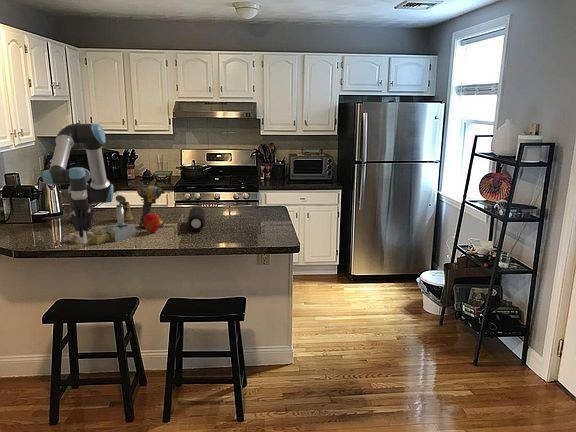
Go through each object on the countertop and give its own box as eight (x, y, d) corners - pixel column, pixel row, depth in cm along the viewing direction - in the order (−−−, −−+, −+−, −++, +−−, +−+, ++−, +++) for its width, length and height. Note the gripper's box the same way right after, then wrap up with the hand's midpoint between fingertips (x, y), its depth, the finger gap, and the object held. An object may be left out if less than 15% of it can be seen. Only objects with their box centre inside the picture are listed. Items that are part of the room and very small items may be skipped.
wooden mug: (113, 223, 296) (111, 195, 291) (120, 218, 309) (118, 190, 305) (128, 223, 296) (126, 195, 292) (134, 218, 309) (132, 190, 305)
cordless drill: (167, 229, 282) (165, 188, 276) (136, 228, 286) (133, 186, 280) (174, 226, 291) (172, 185, 284) (144, 224, 294) (141, 184, 288)
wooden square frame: (69, 241, 260) (68, 234, 259) (84, 237, 267) (83, 230, 266) (80, 243, 255) (79, 236, 254) (94, 239, 262) (93, 232, 261)
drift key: (92, 243, 255) (91, 235, 254) (108, 238, 264) (107, 230, 263) (97, 244, 253) (96, 236, 252) (113, 239, 262) (113, 232, 260)
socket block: (102, 238, 264) (101, 228, 263) (122, 232, 276) (122, 222, 274) (115, 241, 259) (114, 231, 257) (136, 235, 270) (135, 225, 269)
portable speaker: (189, 221, 301) (188, 206, 299) (205, 221, 303) (204, 205, 300) (187, 232, 277) (186, 216, 274) (205, 232, 278) (204, 215, 276)
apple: (160, 233, 274) (158, 213, 271) (143, 234, 272) (142, 214, 269) (160, 229, 282) (159, 209, 280) (145, 230, 281) (143, 210, 278)
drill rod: (117, 236, 268) (114, 205, 264) (122, 235, 271) (120, 204, 267) (121, 237, 267) (119, 206, 262) (127, 235, 269) (124, 204, 265)
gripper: (72, 201, 236) (77, 247, 241) (95, 196, 246) (99, 240, 252) (63, 199, 239) (68, 244, 245) (86, 195, 250) (90, 238, 256)
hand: (84, 242), depth 248 cm, fingers closed
